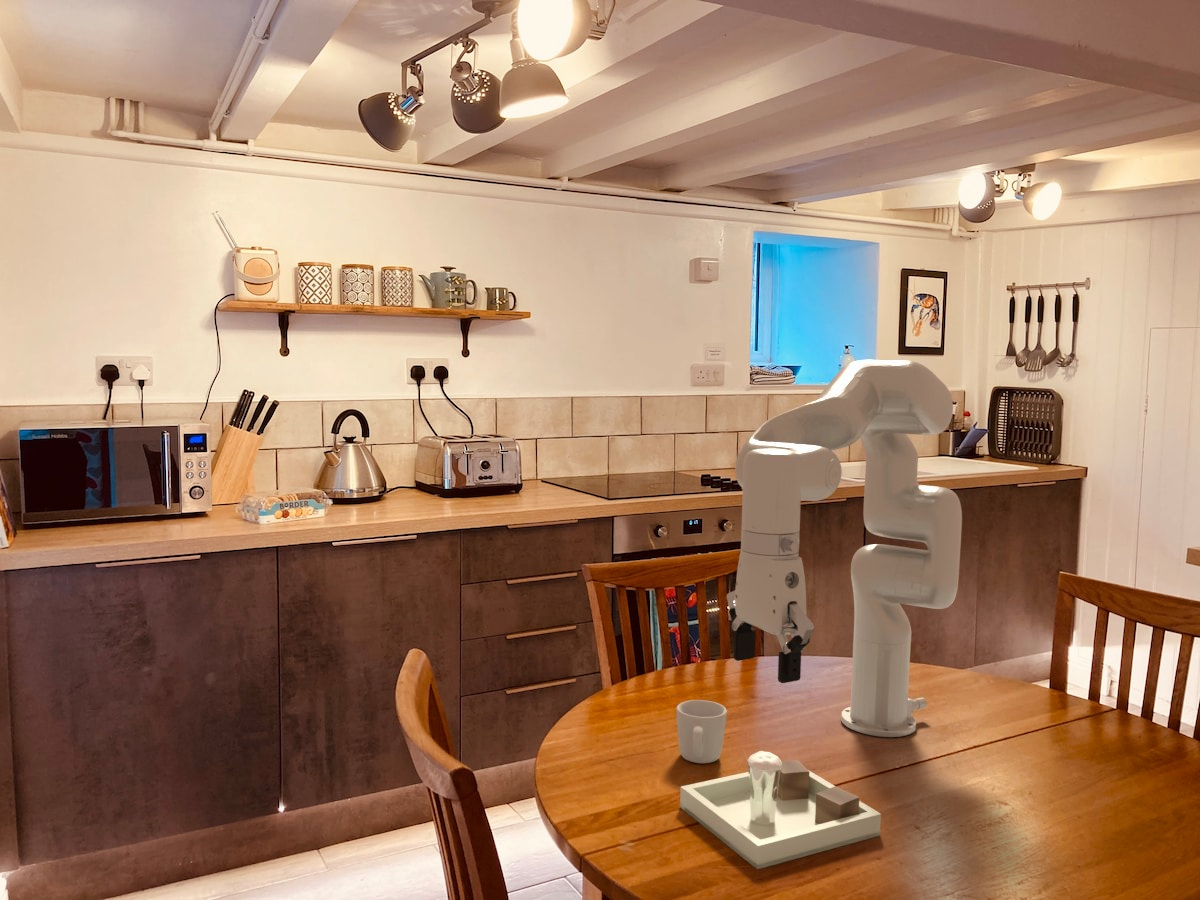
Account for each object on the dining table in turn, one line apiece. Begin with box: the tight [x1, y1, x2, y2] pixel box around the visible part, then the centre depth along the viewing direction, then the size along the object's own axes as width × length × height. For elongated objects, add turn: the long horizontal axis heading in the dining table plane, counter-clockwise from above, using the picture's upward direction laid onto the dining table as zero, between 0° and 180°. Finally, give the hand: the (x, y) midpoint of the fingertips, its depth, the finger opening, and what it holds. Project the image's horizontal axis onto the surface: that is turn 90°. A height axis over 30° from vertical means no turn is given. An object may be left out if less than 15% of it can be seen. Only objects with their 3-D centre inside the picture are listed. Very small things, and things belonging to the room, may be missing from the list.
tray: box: [679, 769, 882, 870], centre depth 128 cm, size 20×18×3 cm
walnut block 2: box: [815, 785, 860, 824], centre depth 126 cm, size 4×4×4 cm
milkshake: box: [742, 748, 782, 825], centre depth 127 cm, size 5×5×10 cm
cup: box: [675, 699, 728, 764], centre depth 147 cm, size 11×8×8 cm
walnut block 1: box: [777, 759, 810, 801], centre depth 135 cm, size 4×4×4 cm
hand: (765, 669), depth 125 cm, fingers open, 9 cm apart
